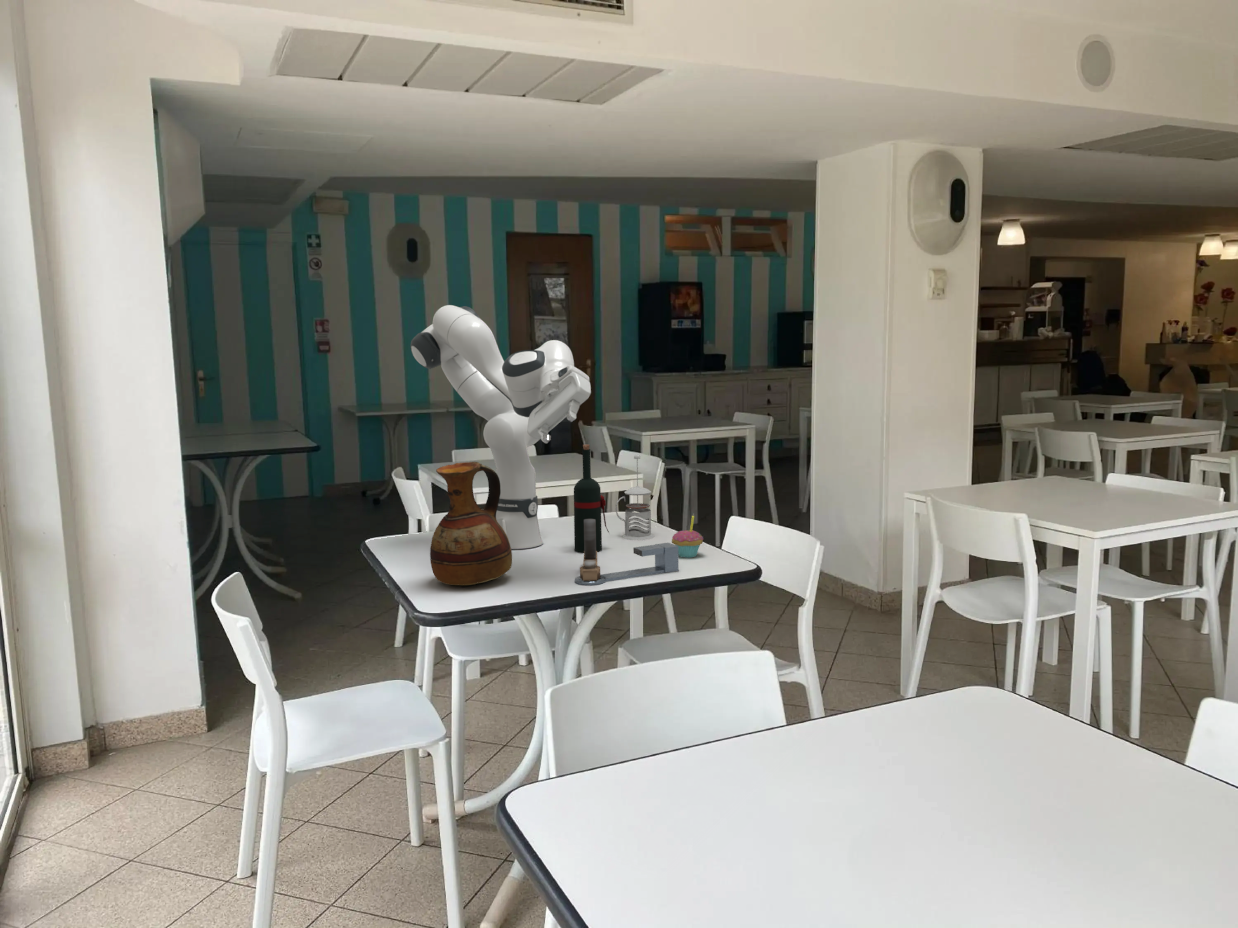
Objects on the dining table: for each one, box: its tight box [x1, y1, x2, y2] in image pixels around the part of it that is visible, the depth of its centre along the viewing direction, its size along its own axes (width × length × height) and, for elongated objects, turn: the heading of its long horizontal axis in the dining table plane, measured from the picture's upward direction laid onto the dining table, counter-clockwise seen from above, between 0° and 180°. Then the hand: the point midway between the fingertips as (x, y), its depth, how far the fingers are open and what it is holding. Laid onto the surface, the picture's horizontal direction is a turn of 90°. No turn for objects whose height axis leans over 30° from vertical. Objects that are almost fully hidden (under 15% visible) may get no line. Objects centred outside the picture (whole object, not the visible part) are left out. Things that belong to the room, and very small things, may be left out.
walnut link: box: [579, 519, 601, 581], centre depth 236 cm, size 21×5×12 cm, turn 1°
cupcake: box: [671, 513, 704, 559], centre depth 254 cm, size 9×8×12 cm
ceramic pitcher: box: [429, 461, 513, 586], centre depth 230 cm, size 20×20×30 cm
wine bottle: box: [573, 444, 610, 554], centre depth 262 cm, size 8×10×30 cm
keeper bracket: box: [574, 542, 679, 586], centre depth 234 cm, size 28×8×6 cm, turn 118°
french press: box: [615, 454, 655, 541], centre depth 279 cm, size 10×12×25 cm
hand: (558, 430), depth 222 cm, fingers open, 8 cm apart
